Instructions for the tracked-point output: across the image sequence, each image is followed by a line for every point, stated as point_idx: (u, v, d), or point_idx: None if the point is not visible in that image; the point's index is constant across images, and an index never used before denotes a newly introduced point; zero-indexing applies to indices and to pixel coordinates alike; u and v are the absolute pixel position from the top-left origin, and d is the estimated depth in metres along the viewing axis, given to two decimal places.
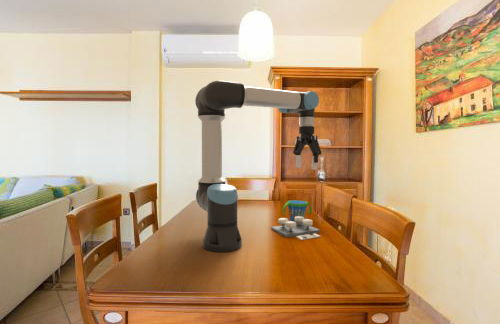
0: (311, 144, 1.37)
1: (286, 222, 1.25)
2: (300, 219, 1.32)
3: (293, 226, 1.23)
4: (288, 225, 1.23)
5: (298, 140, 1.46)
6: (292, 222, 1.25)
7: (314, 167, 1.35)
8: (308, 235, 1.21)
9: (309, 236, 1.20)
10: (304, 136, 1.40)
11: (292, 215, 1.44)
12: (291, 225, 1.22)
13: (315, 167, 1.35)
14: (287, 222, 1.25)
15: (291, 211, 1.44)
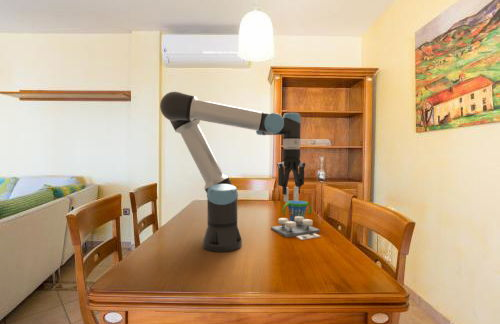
0: (285, 172, 1.23)
1: (286, 222, 1.25)
2: (300, 219, 1.32)
3: (293, 226, 1.23)
4: (288, 225, 1.23)
5: (299, 166, 1.26)
6: (292, 222, 1.25)
7: (284, 199, 1.23)
8: (308, 235, 1.21)
9: (309, 236, 1.20)
10: None
11: (292, 215, 1.44)
12: (291, 225, 1.22)
13: (285, 199, 1.23)
14: (287, 222, 1.25)
15: (291, 211, 1.44)
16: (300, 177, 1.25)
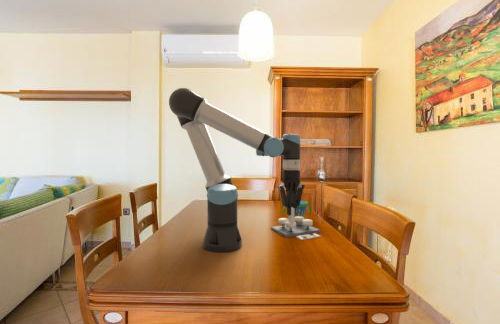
0: (287, 193, 1.23)
1: (286, 222, 1.25)
2: (300, 219, 1.32)
3: (293, 226, 1.23)
4: (288, 225, 1.23)
5: (298, 187, 1.26)
6: None
7: (289, 219, 1.25)
8: (308, 235, 1.21)
9: (309, 236, 1.20)
10: None
11: None
12: (291, 225, 1.22)
13: (290, 220, 1.24)
14: (287, 222, 1.25)
15: None
16: (297, 198, 1.25)
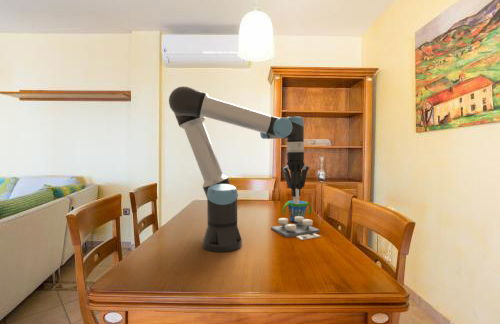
0: (291, 175, 1.26)
1: (286, 225, 1.25)
2: (300, 219, 1.32)
3: (293, 229, 1.23)
4: (288, 228, 1.23)
5: None
6: (292, 225, 1.25)
7: (294, 201, 1.27)
8: (308, 235, 1.21)
9: (309, 236, 1.20)
10: None
11: (292, 215, 1.44)
12: (291, 228, 1.22)
13: (294, 201, 1.27)
14: (287, 225, 1.25)
15: (291, 211, 1.44)
16: (301, 179, 1.28)
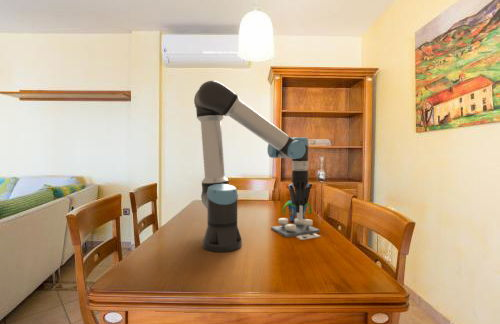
0: (296, 192, 1.33)
1: (286, 225, 1.25)
2: (300, 221, 1.32)
3: (293, 229, 1.23)
4: (288, 228, 1.23)
5: (306, 186, 1.36)
6: (292, 225, 1.25)
7: (297, 216, 1.34)
8: (308, 235, 1.21)
9: (309, 236, 1.20)
10: None
11: (292, 215, 1.44)
12: (291, 228, 1.22)
13: (298, 217, 1.34)
14: (287, 225, 1.25)
15: (291, 211, 1.44)
16: (305, 196, 1.35)
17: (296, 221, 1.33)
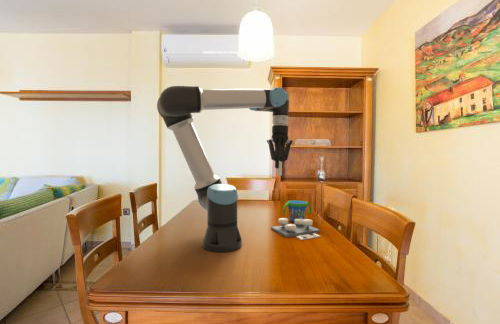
0: (275, 147, 1.32)
1: (286, 225, 1.25)
2: (300, 222, 1.32)
3: (293, 229, 1.23)
4: (288, 228, 1.23)
5: (286, 143, 1.35)
6: (292, 225, 1.25)
7: (277, 173, 1.33)
8: (308, 235, 1.21)
9: (309, 236, 1.20)
10: None
11: (292, 215, 1.44)
12: (291, 228, 1.22)
13: (277, 173, 1.32)
14: (287, 225, 1.25)
15: (291, 211, 1.44)
16: (285, 153, 1.34)
17: (296, 221, 1.33)
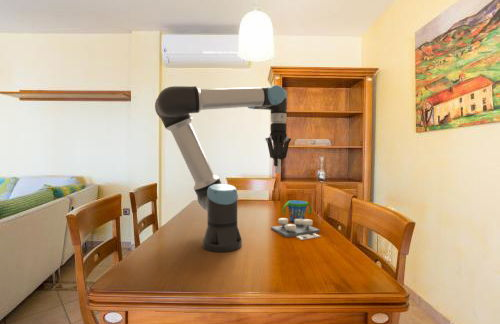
0: (274, 145, 1.32)
1: (286, 225, 1.25)
2: (300, 222, 1.32)
3: (293, 229, 1.23)
4: (288, 228, 1.23)
5: (285, 141, 1.35)
6: (292, 225, 1.25)
7: (276, 171, 1.33)
8: (308, 235, 1.21)
9: (309, 236, 1.20)
10: None
11: (292, 215, 1.44)
12: (291, 228, 1.22)
13: (276, 171, 1.32)
14: (287, 225, 1.25)
15: (291, 211, 1.44)
16: (284, 150, 1.34)
17: (296, 221, 1.33)
